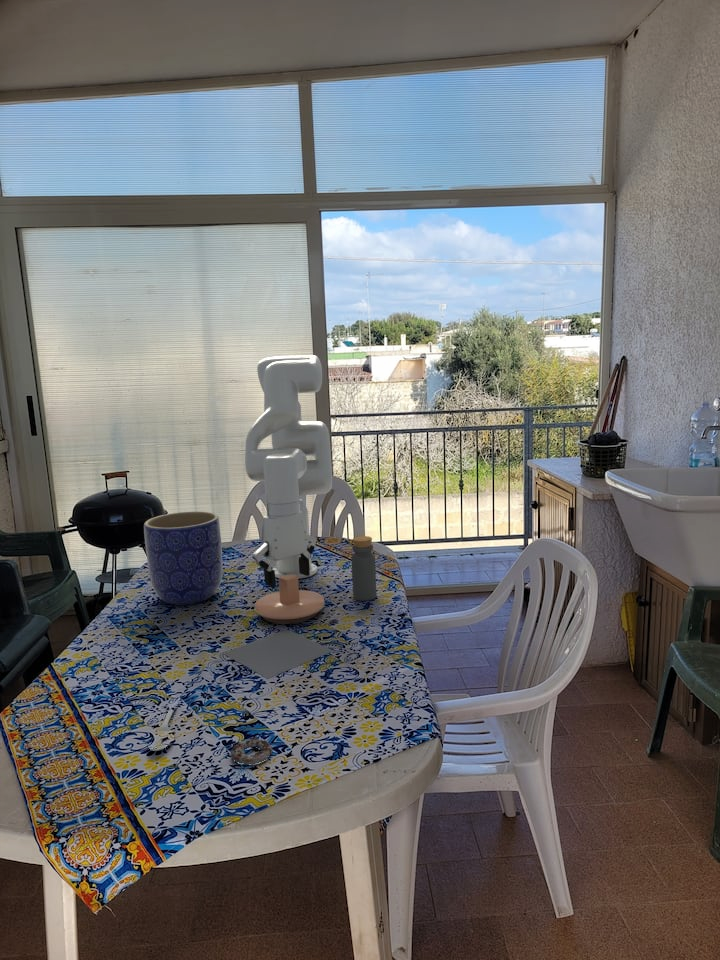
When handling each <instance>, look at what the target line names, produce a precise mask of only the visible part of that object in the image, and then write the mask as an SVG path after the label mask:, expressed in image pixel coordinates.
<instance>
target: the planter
mask: <svg viewBox="0 0 720 960" xmlns="http://www.w3.org/2000/svg"><path fill="white" fill-rule="evenodd" d="M143 534H144V544H145V552H146V560H147V568H148V573H149V579H150V584H151V586H152V589H153V591H154V592H155V594H156V595H157V597H159V599H160V600H162V601H163V602H165V603H166V604H170V605H173V604H175V606H187V605H188V604H189V605H194V603H195V604H199V603H202V602H205V601H207V600H208V599H210V598H212V597H213V596H214V595H215V594H216V592H217V591H218V590H219V587H220V585H221V582H222V579H223V551H222V550H223V548H222V536H221V535H222V534H221V524H220V517H219V515H218V514H216V513H214V512H212V511H211V512H210V511H201V510H198V511H197V510H196V511H195V510H194V511H193V510H192V511H179V512H172V513H168V514H167V513H166V514H162V515H158V516H155V517H151V518H150V519H147V520H146V521H145V522H144V524H143Z"/></svg>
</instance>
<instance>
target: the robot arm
mask: <svg viewBox="0 0 720 960" xmlns="http://www.w3.org/2000/svg"><path fill="white" fill-rule="evenodd" d="M256 368H257V369H256V370H257V376H258V377H257V378H258V381H259V384H260V387H261V390H262V392H263V393H264V394H263V395H264V397H263V401H264V402H263V413H262V414H261V415H260V416H259V417H258V418H257V419H256V420H255V422H254V423H253V424H252V426H250V428H249V431H248V433H247V435H246V439H245V445H244V446H245V450H244V451H245V452H244V453H245V454H244V466H245V468H244V469H245V472H246V475H247V477H248V478H249V479H250V480H251V481H254V482H264V495H265V496H264V498H265V508H266V509H265V510H266V515H264V516H263V518H262V526H261V546H260V547H259V548H258V549H257V550H255V551H254V552H253V553H252V555H251V556H252V558H253V559H254V561H255V562H256V565H258V566H259V567H260V568H261V569H263V577H264V583H265V585H266V586H268V587H271V588H276V586H277V584H276V583H277V581H276V578H277V579H279V577H282V576H285V575H288V574H291V575H294V576H297V577H298V580H299V579H300V580H301V579H305V578H309V577H312V576H313V575H315V574H317V572H318V566H317V565H316V564H314V563H313V562H312V554H313V552H314V551H315V546H316V544H317V539H318V538H317V537H316V536H313V535H311V534H310V533H311V532H310V519H309V518H310V517H309V510H308V507H307V506H306V504H304V501H303V500H302V499H300V496H308V495H309V496H312V495H313V496H314V495H325V494H328V493H329V492H330V491H331V490H332V487H333V467H332V465H333V464H332V451H331V441H330V440H331V438H330V432H329V428H328V426H327V425H326V424H325V423H324V422H323V421H320V420H319V421H318V420H308V421H307V420H306V421H304V420H302V407H301V403H300V401H299V394H312V393H317V392H319V391H320V390H321V389H322V384H323V366H322V363H321V360H320V358H319V357H318V356H317V355H314V354H308V355H302V354H301V355H279V356H271V357H265V358H263V359H261V360H260V361H258V364H257V367H256ZM269 436H271V447H272V448H260V449H259V446H260V445H261V443H262V442H263V440H264V439H265V440H266V438H267V437H269ZM308 456H311V457H313V458H314V459H309V460H308V459H307V457H308ZM263 557H264V559H263Z"/></svg>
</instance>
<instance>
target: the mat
mask: <svg viewBox="0 0 720 960" xmlns="http://www.w3.org/2000/svg"><path fill="white" fill-rule="evenodd" d="M332 652H335V650H333V649H331V648H329V647H327V646H325V645H322V644H321V643H318V642H316V641H313V639H312V640H311V639H309V638H307V637H305V636H303V635H301V634H298V633H296V632H294V631H291V630H289V629H284V630H281V631H279V632H275V633H273V634H271V635H267V636H265V637H262V638H259V639H256V640H255V641H251V642H249V643H246V644H244V645H241V646H237V647H235V648H232V649H230V650H227V651H224V652H222V654H223V655H225V656H226V657H229V658H231V659H232V660H234V661H235V662H237V663H239V664H241V665H242V666H244V667H246V668H248V669H250V670H251V671H253V672H255V673H257V674H258V675H259V676H262V677H264V678H265V679H267V680H269V679H272V678H273V677H275V676H279V675H281V674H283V673H285V672H287V671H289V670H293V669H295V668H297V667H300V666H301V665H304V664H306V663H309V662H311V661H314V660H316V659H318V658H320V657H323V656H325V655H327V654H330V653H332Z"/></svg>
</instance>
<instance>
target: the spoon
mask: <svg viewBox="0 0 720 960" xmlns="http://www.w3.org/2000/svg"><path fill="white" fill-rule="evenodd" d="M172 715H173V714H172V711H171V712H168V713H167V712H166V716H165V719H164V721H162V724H161V725H160V726H159V727H158V728H157V730H156V731H172V730H171V729H170V727H169V721H170V719H171V717H172ZM166 747H167V746H166ZM166 747H162V748H158V749H153V748H149V749H150V751H153V752H157V751H161V750H164V748H165V749H166ZM167 748H168V747H167ZM149 749H148V750H149Z"/></svg>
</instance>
